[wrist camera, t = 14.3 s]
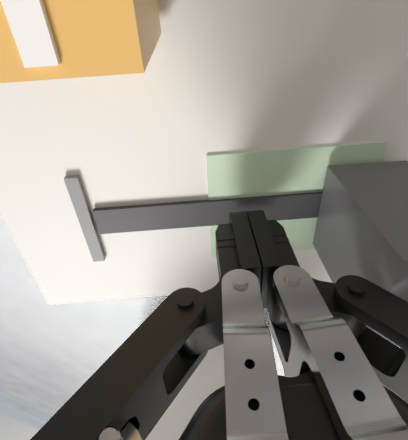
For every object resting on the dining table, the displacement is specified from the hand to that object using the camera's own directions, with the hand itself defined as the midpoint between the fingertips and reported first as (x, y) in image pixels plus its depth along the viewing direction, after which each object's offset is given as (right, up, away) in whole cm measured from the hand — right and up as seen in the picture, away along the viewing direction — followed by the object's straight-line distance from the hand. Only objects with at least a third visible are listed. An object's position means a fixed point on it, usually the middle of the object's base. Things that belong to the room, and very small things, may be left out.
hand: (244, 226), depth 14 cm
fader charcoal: (+6, +1, +1) cm, 6 cm away
